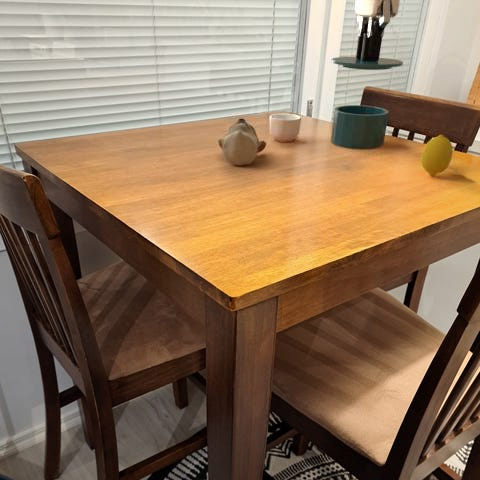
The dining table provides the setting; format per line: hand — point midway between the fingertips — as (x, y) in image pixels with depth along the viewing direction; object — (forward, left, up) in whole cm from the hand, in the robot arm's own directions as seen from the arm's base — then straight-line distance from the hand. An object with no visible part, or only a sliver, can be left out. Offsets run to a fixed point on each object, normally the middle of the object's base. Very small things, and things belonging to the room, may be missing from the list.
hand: (367, 59), depth 96 cm
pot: (-8, -17, -20) cm, 27 cm away
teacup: (+9, -23, -20) cm, 32 cm away
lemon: (-13, +11, -20) cm, 26 cm away
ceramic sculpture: (+23, -6, -20) cm, 31 cm away
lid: (0, 0, -1) cm, 1 cm away
